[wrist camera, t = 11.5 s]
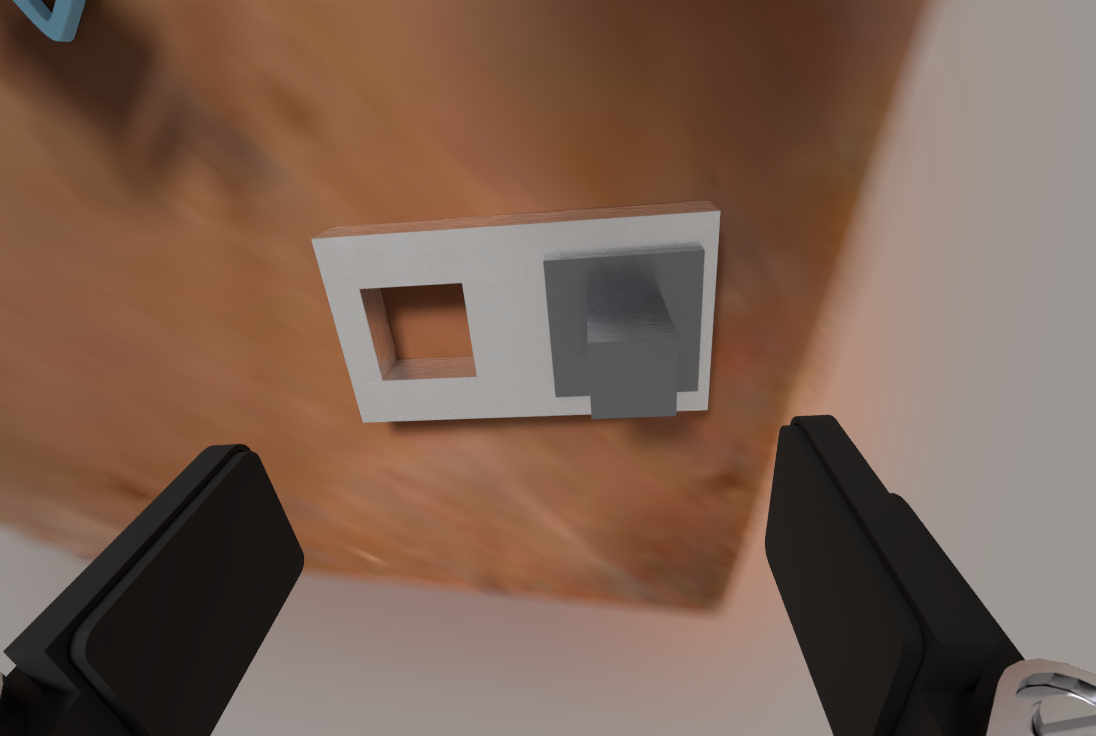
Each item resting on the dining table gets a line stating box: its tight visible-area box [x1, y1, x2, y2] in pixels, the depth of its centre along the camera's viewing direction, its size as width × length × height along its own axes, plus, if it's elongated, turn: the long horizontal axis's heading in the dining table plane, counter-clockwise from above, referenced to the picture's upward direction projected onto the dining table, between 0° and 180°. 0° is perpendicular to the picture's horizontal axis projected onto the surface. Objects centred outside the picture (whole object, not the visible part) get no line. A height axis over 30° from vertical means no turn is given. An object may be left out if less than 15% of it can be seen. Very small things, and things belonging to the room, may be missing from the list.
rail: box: [311, 200, 720, 422], centre depth 32 cm, size 12×22×3 cm, turn 95°
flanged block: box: [543, 246, 705, 419], centre depth 29 cm, size 8×8×9 cm
